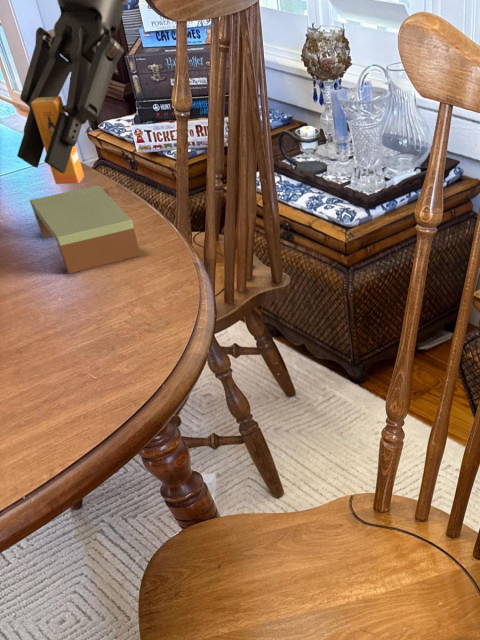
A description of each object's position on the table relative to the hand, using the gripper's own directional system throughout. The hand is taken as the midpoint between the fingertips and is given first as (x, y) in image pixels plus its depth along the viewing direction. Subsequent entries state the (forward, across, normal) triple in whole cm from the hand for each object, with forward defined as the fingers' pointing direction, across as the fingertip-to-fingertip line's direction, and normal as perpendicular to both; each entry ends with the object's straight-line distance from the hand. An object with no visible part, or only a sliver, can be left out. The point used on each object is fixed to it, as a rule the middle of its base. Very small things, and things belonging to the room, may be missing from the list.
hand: (40, 164), depth 101 cm
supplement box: (0, 0, -5) cm, 5 cm away
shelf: (+6, 0, -11) cm, 13 cm away
